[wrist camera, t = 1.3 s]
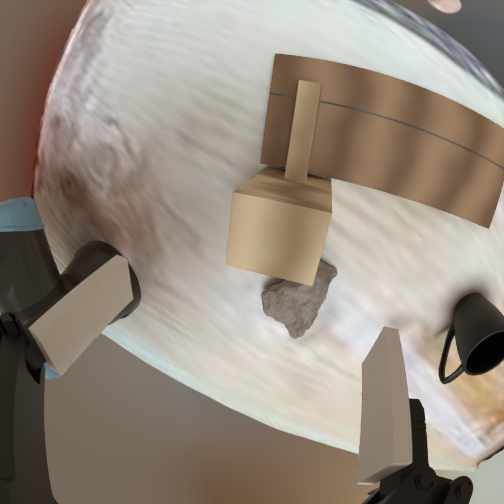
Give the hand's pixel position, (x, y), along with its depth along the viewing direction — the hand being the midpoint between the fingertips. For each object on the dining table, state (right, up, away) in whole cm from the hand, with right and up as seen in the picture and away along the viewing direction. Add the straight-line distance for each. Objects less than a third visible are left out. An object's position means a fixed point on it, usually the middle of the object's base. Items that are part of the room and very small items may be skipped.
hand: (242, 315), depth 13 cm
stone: (+7, -1, +23) cm, 24 cm away
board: (+16, +15, +11) cm, 24 cm away
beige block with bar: (+6, +13, +15) cm, 21 cm away
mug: (+31, -6, +18) cm, 36 cm away
